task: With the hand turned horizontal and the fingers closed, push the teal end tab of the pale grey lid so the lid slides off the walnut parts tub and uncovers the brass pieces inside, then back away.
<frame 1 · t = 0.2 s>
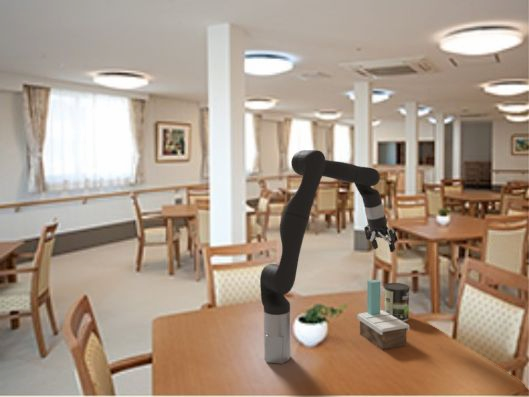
hand: (384, 249, 192), 31 cm above the table, tool tilted 20°, fingers open, 8 cm apart
lid: (382, 305, 175), point 14 cm above the table, slide at 0.0 cm
tub: (382, 340, 176), on the table
coffee can: (396, 318, 199), on the table
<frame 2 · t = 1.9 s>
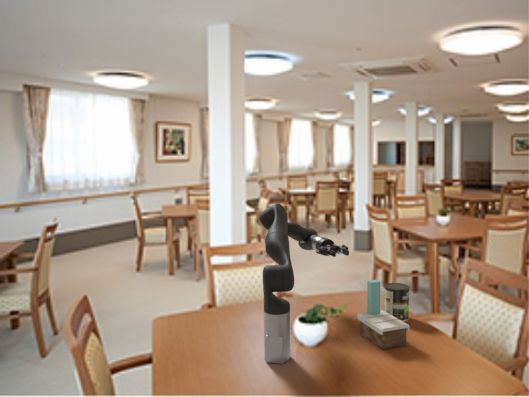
hand: (341, 253, 189), 30 cm above the table, tool horizontal, fingers open, 5 cm apart
nothing on the table moved.
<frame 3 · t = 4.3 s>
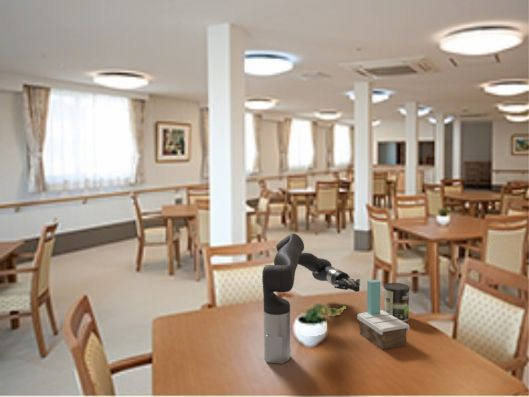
hand: (357, 289, 192), 15 cm above the table, tool horizontal, fingers closed
nothing on the table moved.
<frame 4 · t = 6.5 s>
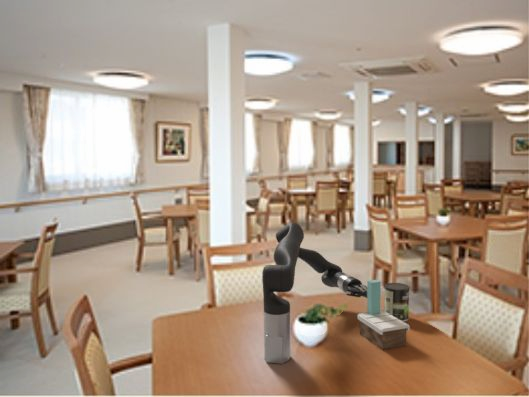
hand: (371, 296, 182), 15 cm above the table, tool horizontal, fingers closed
lid: (382, 305, 175), point 14 cm above the table, slide at 0.1 cm, touching gripper
everything else where it was.
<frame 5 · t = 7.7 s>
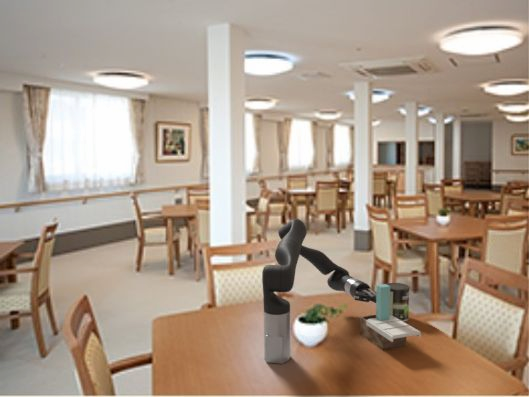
hand: (380, 301, 176), 15 cm above the table, tool horizontal, fingers closed
lid: (392, 310, 169), point 14 cm above the table, slide at 6.5 cm, touching gripper
everything else where it was.
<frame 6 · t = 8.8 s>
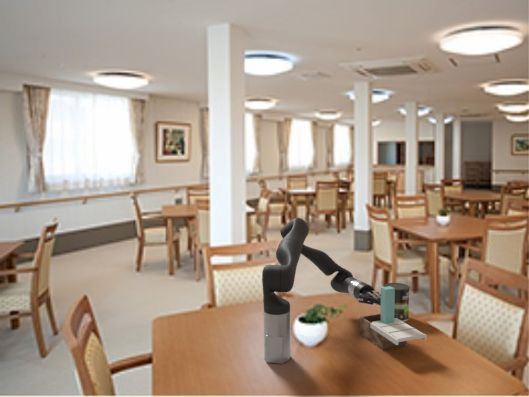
hand: (385, 304, 173), 15 cm above the table, tool horizontal, fingers closed
lid: (397, 313, 166), point 14 cm above the table, slide at 9.4 cm, touching gripper
everything else where it was.
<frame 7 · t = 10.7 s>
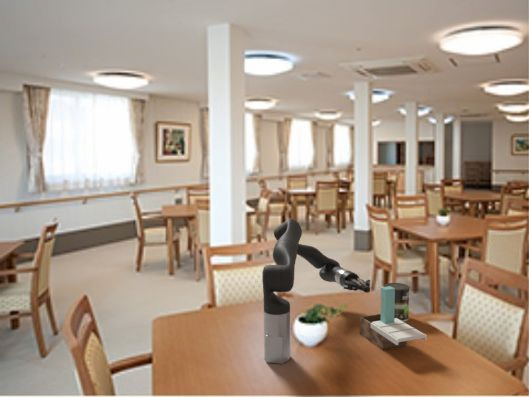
hand: (368, 290, 183), 17 cm above the table, tool horizontal, fingers closed
lid: (397, 313, 166), point 14 cm above the table, slide at 9.5 cm
everything else where it was.
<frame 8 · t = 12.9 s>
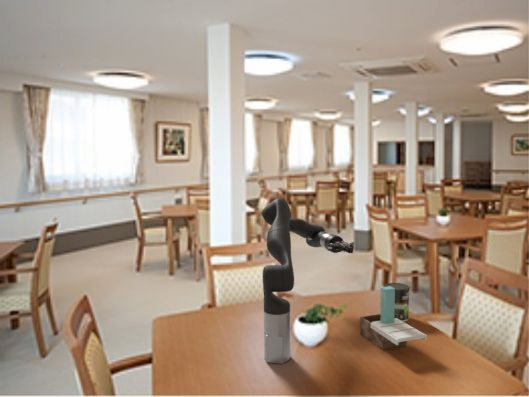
hand: (351, 250, 186), 32 cm above the table, tool horizontal, fingers closed
nothing on the table moved.
at the end: lid slide at 9.5 cm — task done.
